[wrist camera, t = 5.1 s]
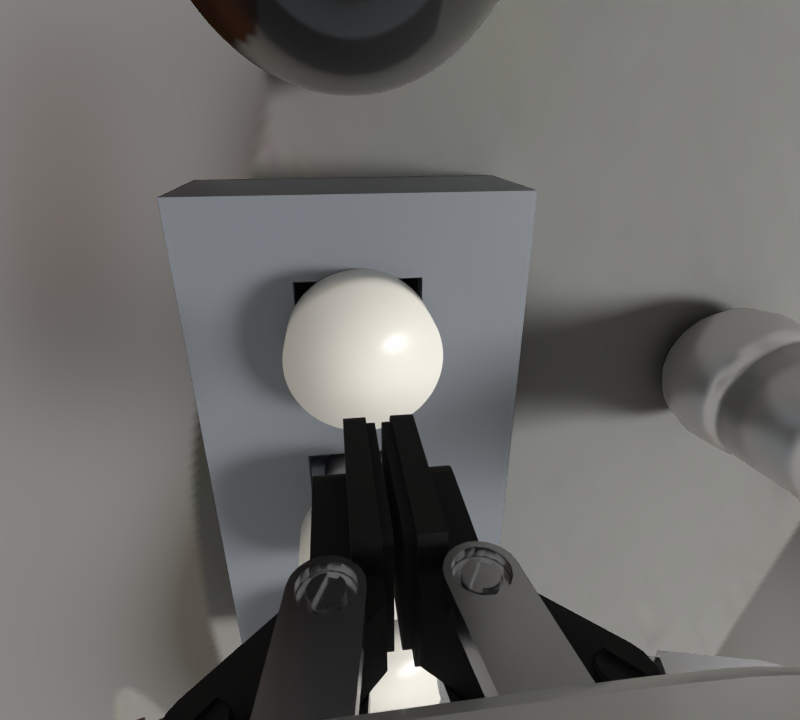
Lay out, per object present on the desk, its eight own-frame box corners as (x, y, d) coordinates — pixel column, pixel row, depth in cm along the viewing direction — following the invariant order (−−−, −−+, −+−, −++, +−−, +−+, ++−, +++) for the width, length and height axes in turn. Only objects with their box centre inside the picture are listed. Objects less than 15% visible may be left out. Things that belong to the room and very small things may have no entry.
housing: (193, 179, 20) (157, 197, 16) (492, 175, 22) (537, 190, 17) (263, 612, 30) (252, 698, 26) (463, 590, 32) (486, 668, 27)
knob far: (311, 550, 25) (308, 665, 19) (419, 539, 25) (444, 648, 20) (318, 625, 27) (317, 747, 22) (417, 614, 27) (439, 730, 22)
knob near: (286, 245, 21) (274, 287, 15) (416, 241, 21) (446, 281, 16) (297, 363, 23) (290, 436, 18) (414, 356, 23) (440, 424, 18)
